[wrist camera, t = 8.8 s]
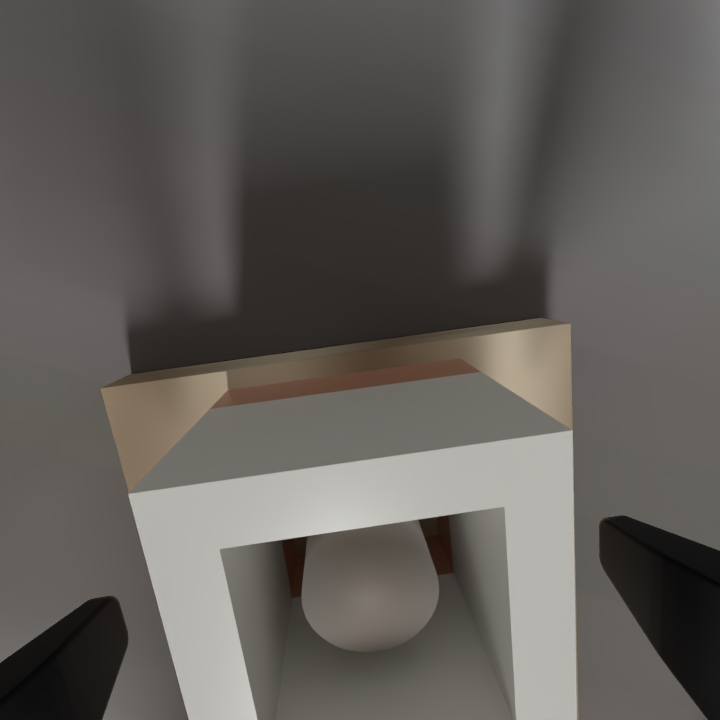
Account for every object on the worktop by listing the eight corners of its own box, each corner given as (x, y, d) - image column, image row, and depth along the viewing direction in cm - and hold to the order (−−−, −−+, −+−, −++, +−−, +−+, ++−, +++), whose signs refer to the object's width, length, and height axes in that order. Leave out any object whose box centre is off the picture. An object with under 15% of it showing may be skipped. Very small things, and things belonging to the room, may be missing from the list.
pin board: (541, 317, 12) (713, 350, 6) (555, 738, 15) (678, 993, 10) (130, 374, 11) (-52, 459, 6) (237, 794, 15) (182, 1092, 9)
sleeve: (475, 560, 12) (577, 766, 7) (268, 591, 11) (218, 827, 6) (460, 358, 10) (572, 430, 5) (227, 390, 10) (128, 494, 5)
